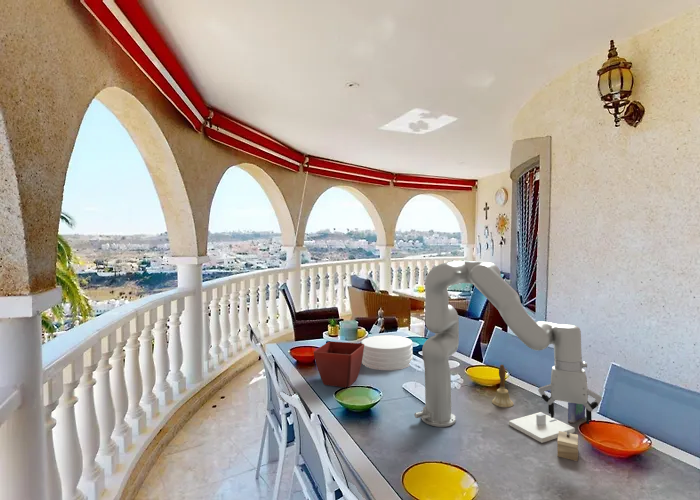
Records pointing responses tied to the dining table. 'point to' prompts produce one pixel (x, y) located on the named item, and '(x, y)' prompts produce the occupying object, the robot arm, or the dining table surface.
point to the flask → (575, 412)
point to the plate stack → (387, 352)
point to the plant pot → (339, 362)
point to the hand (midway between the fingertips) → (569, 419)
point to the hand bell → (502, 391)
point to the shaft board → (540, 426)
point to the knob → (567, 445)
